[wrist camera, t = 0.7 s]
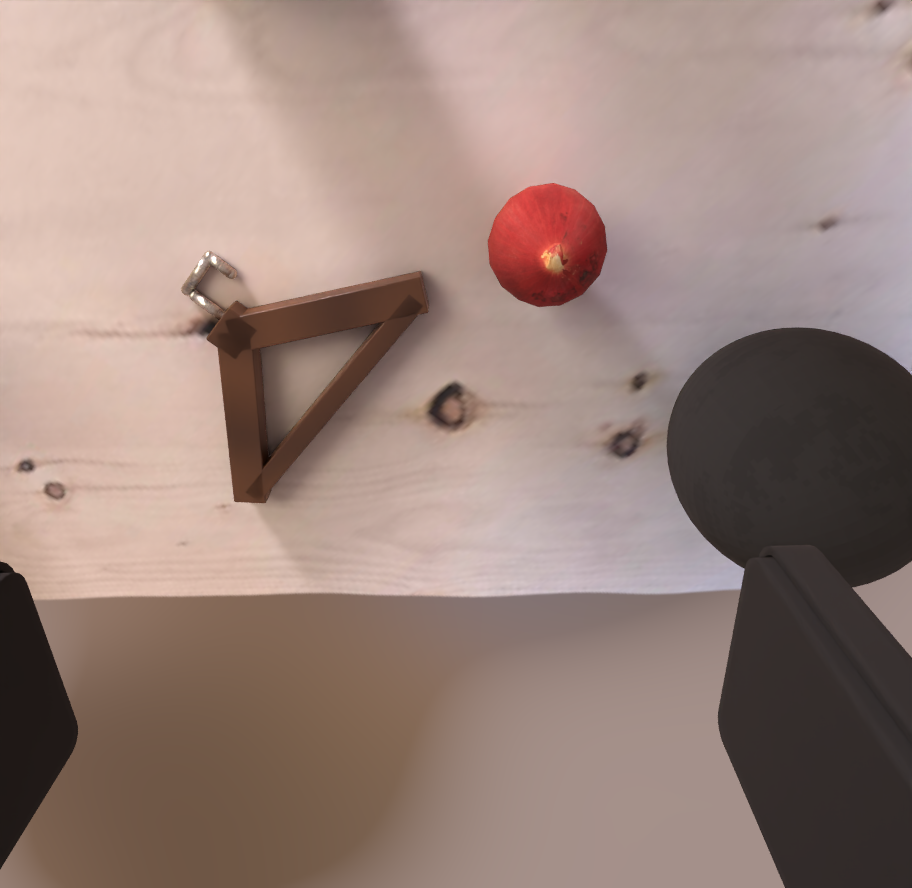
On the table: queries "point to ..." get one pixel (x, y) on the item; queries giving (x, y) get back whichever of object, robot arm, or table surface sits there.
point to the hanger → (285, 323)
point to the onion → (547, 245)
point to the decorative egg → (798, 450)
